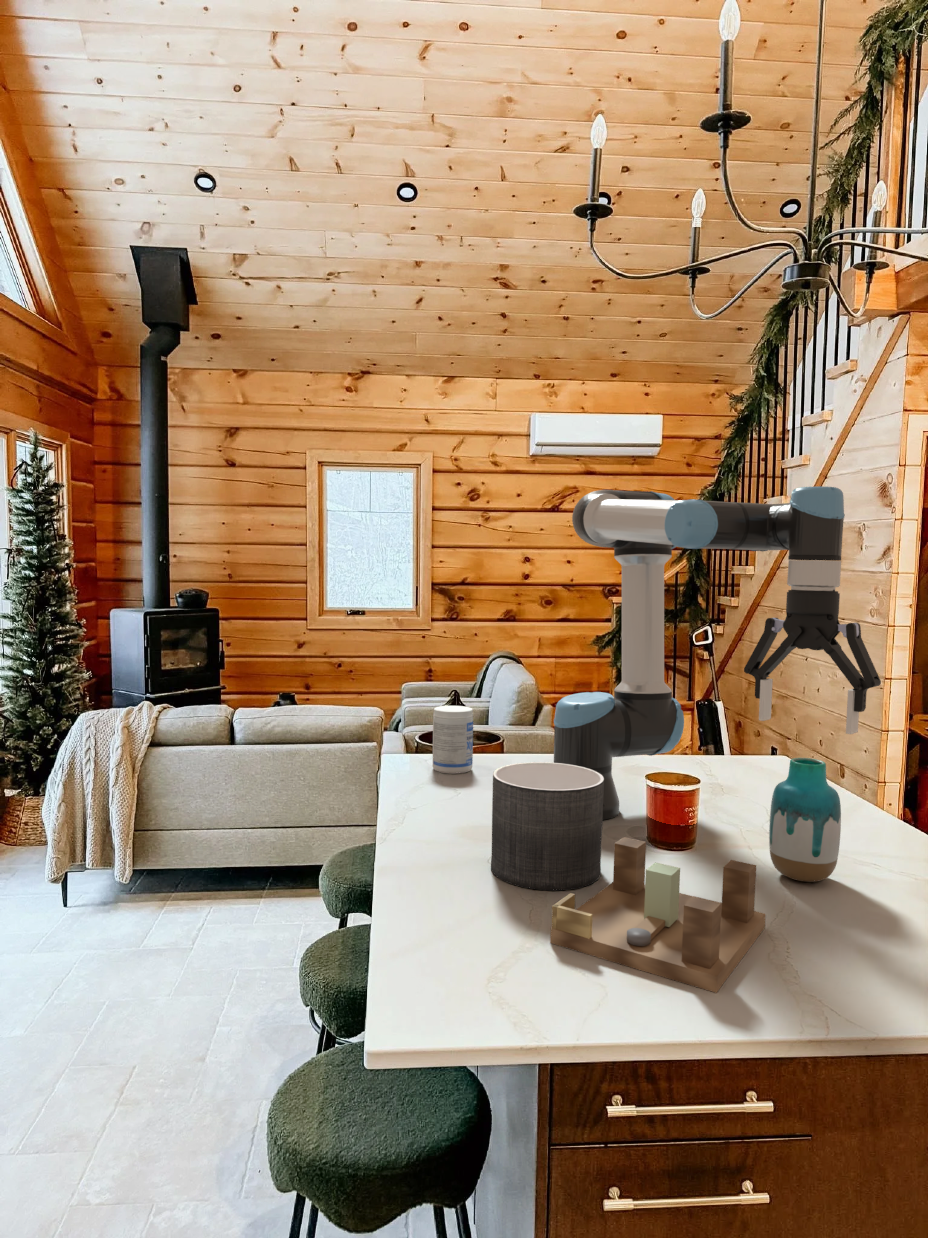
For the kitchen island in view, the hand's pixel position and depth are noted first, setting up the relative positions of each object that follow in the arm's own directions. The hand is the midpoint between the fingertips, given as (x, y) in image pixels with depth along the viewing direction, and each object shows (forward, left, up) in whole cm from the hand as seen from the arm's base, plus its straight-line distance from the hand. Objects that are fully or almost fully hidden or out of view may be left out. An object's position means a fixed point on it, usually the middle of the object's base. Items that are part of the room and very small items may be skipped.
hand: (806, 726), depth 132 cm
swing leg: (-11, -34, -23) cm, 42 cm away
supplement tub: (-84, +27, -26) cm, 92 cm away
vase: (0, +4, -26) cm, 26 cm away
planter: (-35, -18, -26) cm, 47 cm away
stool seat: (-11, -30, -26) cm, 41 cm away
